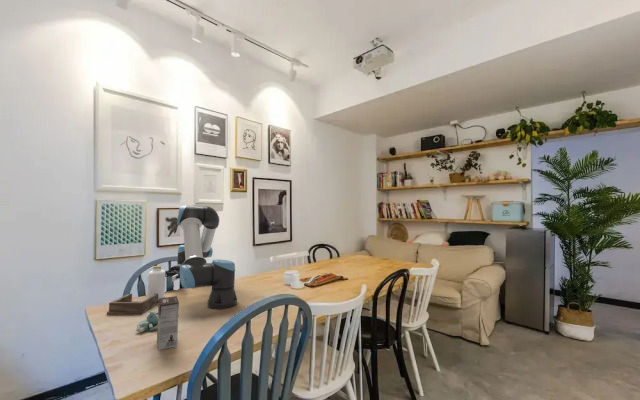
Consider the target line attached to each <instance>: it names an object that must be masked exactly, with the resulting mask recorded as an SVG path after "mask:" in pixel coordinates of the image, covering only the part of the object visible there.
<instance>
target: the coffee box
mask: <svg viewBox="0 0 640 400" xmlns="http://www.w3.org/2000/svg"><path fill="white" fill-rule="evenodd" d="M158 301H159V303H158V308H157V309H158V310H157V312H158V329H157V330H156V331H157V332H156V333H157V334H156V340H157V341H156V342H157V343H156V344H157V349H158V351H160V350H161V351H162V350H166V349H170V348H171V349H172V348H175V347H177V346H178V330H179V309H180V307H179V306H180V302H179V299H178V296H177V295H175V296H174V295H173V296H168V297H164V298H160V299H159V300H158Z"/></svg>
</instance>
